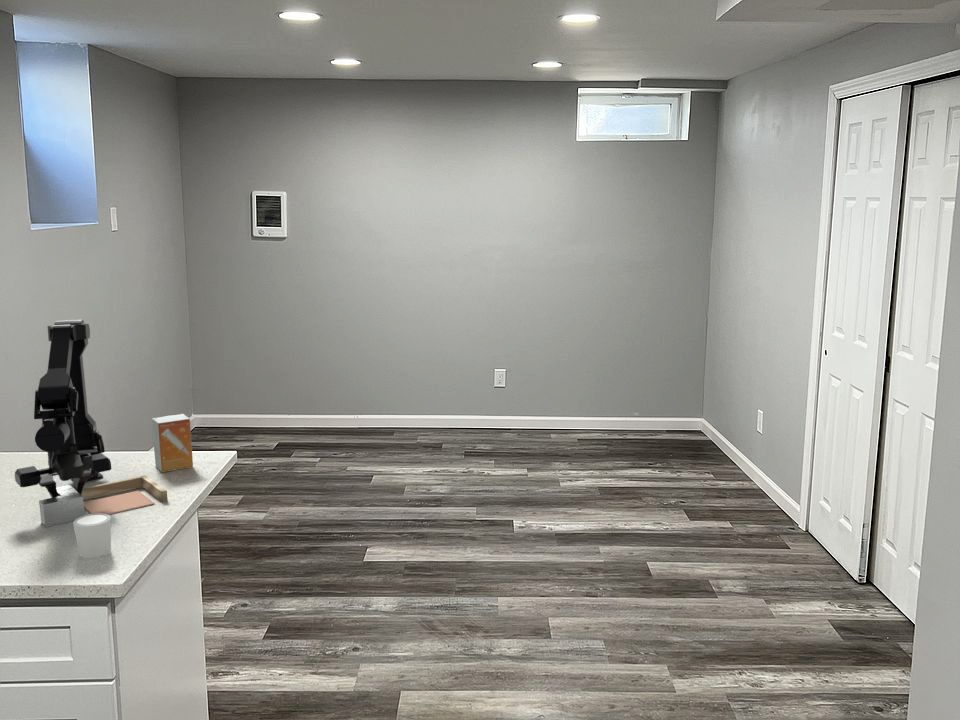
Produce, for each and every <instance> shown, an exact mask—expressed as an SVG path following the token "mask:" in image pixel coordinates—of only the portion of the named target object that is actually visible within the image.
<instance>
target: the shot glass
mask: <svg viewBox="0 0 960 720" xmlns="http://www.w3.org/2000/svg"><path fill="white" fill-rule="evenodd" d="M72 524H73V525H72V526H73V529H74V533H75V538H76V543H77V548H78V552H79V555H80V557H81V558H82V557H83V559H90V558H91V559H95V558H94V557H98V558H101V557H100V556H102V557H104V556H103V555H105V556H107V555H109V554H110V553H111V551H110V550H112V544H111V543H112V530H111V529H112V516H111V514H110V515H107V514H90V513H89V514H87V515H85V516H82V517H79V518H77V519H76V520H74V521H72ZM109 552H110V553H109ZM106 554H107V555H106Z"/></svg>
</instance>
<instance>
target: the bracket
mask: <svg viewBox="0 0 960 720" xmlns="http://www.w3.org/2000/svg"><path fill="white" fill-rule="evenodd" d="M56 489H57V494H58V497H53V498H51V497H50V498H45V499H41V500H40V499H39V500H38V503H39V505H38V507H39V512H40V523H41V524H42V525H43V526H44V528H48V527H52V526H57V525H61V524H62V525H63V524H66V523H70V522H74V520H76V519H77V518H79V517H82V516H85V508H84V504H83V503H84V500H83V496H82V495H81V494H79V493H78V492H77V491H76V490H75V489H74V487H73V486H72V485H71V484H68V485H63V486H59V487H57V486H56Z"/></svg>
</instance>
